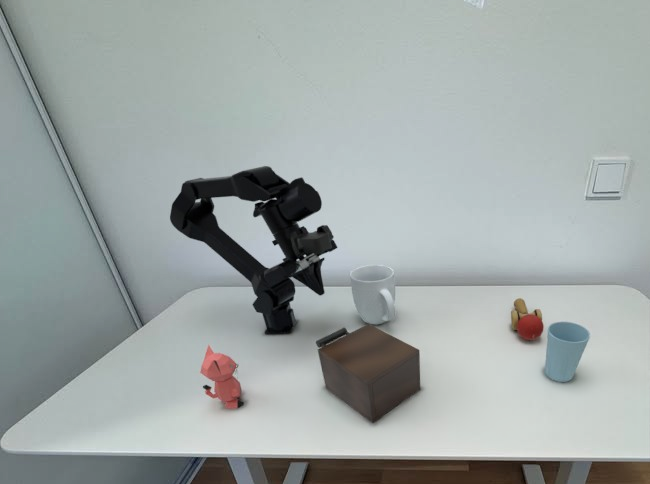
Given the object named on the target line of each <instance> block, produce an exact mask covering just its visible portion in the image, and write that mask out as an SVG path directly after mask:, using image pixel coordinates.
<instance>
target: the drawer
mask: <svg viewBox="0 0 650 484" xmlns="http://www.w3.org/2000/svg"><path fill="white" fill-rule="evenodd" d="M349 333H350V332H349V331H348V329H347V328H346V327H342V328H339V329H338V330H336V331H333V332H332V333H329V334H327V335H325V336H323V337H321V338H319V339H317V340H315V345H316V346H317V347H318V349H319V348H321V347H323V346H325V345H327V344H329V343H331V342H333V341H335V340H337V339H339V338H341V337H343V336H345V335H347V334H349ZM317 354H318V355H319V352H318V351H317ZM318 357H319V356H318ZM319 359H320V357H319ZM319 363H320V364H321V362H320V361H319ZM320 367H321V366H320ZM321 369H322V367H321ZM321 373H322V374H323V372H322V371H321ZM322 376H323V375H322ZM323 378H324V376H323Z"/></svg>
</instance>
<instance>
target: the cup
mask: <svg viewBox="0 0 650 484" xmlns="http://www.w3.org/2000/svg"><path fill="white" fill-rule="evenodd" d="M546 334H547V335H546V338H547V339H546V351H545V366H544V367H545V368H544V373H545V375H546V377H547V378H548V379H550V380H552V381H555V382H558V383H567V382H569V381H571V380H572V379H573V378H574V375H575V373H576V371H577V368H578V366H579V364H580V361H581V359H582V357H583V354H584V352H585V350H586V347H587V345H588V343H589V340H590V338H591V332H590V331H589V330H588V329H587V328H586V327H585V326H583V325H581V324H579V323H576V322H571V321H556V322H553V323H551V324H550V325H548V327H547V333H546Z"/></svg>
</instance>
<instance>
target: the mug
mask: <svg viewBox="0 0 650 484" xmlns="http://www.w3.org/2000/svg"><path fill="white" fill-rule="evenodd" d="M395 279H396V277H395V271H394V269H393V268H392V267H390V266H388V265H386V264H378V263H377V264H375V263H372V264H364V265H361V266H357V267H355V268H354V269H351V271H350V272H349V280H350V281H349V282H350V288H351V294H352V299H353V303H354V305H355V306H354V307H355V308H356V312H357V313H358V315H359V317H360V319H362V320H363V321H364V322H365V323H366V324H370V325H381V324H385V323H386V322H391V321H394V320H395V318H396V307H395V304H396V280H395Z"/></svg>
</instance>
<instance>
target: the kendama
mask: <svg viewBox="0 0 650 484" xmlns="http://www.w3.org/2000/svg"><path fill="white" fill-rule="evenodd" d="M513 307H514V308H515V310H511V312H510V321H511V327H512V330H513V331H517V333H518V335H519V336H520V337H521V338H522V339H524V340H527V341H534V340H537V339H538V338H539V337H540V336H542V334H543V332H544V327H545V326H544V323H543V322H544V321H543V313H542V310H541V309H540V308H535V309H534V310H533V311H532V312H529V311H528V308H527V305H526V302H525V300H524V299H523V298H520V297H518V298H515V300H514V301H513Z"/></svg>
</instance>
